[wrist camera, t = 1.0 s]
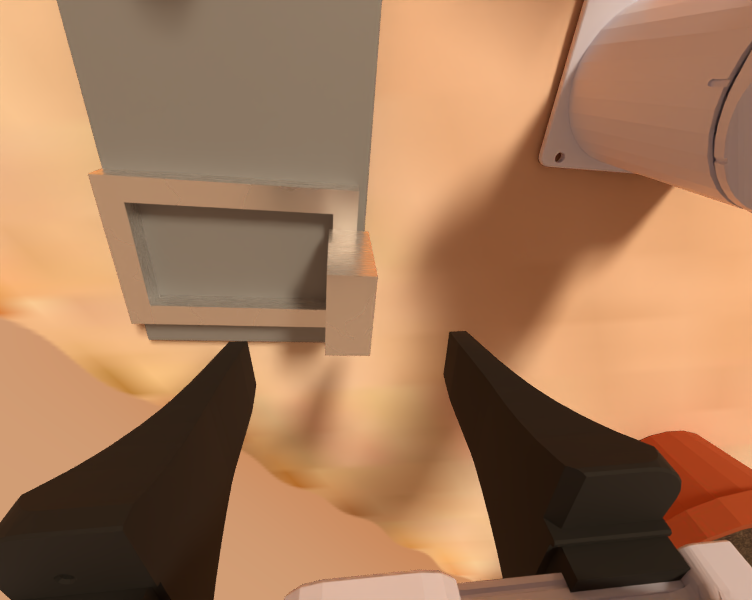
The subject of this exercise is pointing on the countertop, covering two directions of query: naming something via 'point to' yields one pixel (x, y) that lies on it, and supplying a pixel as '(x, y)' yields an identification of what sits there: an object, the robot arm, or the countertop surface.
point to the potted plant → (707, 492)
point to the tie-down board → (232, 132)
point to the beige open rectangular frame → (337, 312)
